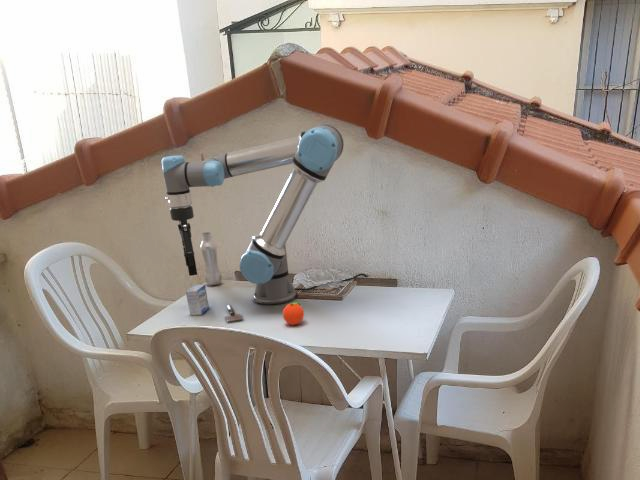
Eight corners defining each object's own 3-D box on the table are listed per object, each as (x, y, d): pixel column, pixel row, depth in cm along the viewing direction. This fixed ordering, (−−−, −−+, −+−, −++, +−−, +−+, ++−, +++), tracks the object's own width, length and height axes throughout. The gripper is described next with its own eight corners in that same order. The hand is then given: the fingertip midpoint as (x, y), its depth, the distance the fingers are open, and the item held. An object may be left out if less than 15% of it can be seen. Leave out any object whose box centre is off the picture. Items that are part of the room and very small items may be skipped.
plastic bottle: (204, 287, 275) (195, 235, 265) (209, 282, 281) (201, 231, 271) (219, 286, 274) (211, 235, 264) (224, 281, 279) (216, 231, 270)
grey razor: (222, 309, 248) (222, 305, 247) (236, 307, 249) (235, 303, 248) (228, 323, 234) (227, 318, 233) (242, 320, 235) (241, 316, 234)
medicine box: (201, 315, 244) (197, 291, 239) (189, 315, 245) (185, 291, 240) (209, 308, 250) (205, 284, 246) (198, 308, 251) (193, 284, 247)
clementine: (293, 318, 233) (291, 298, 229) (310, 320, 230) (308, 300, 226) (279, 326, 227) (277, 305, 224) (297, 328, 224) (295, 307, 220)
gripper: (167, 201, 239) (178, 263, 250) (171, 214, 218) (183, 280, 229) (189, 199, 241) (199, 260, 251) (195, 211, 220) (206, 277, 230)
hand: (191, 270), depth 240 cm, fingers open, 13 cm apart
